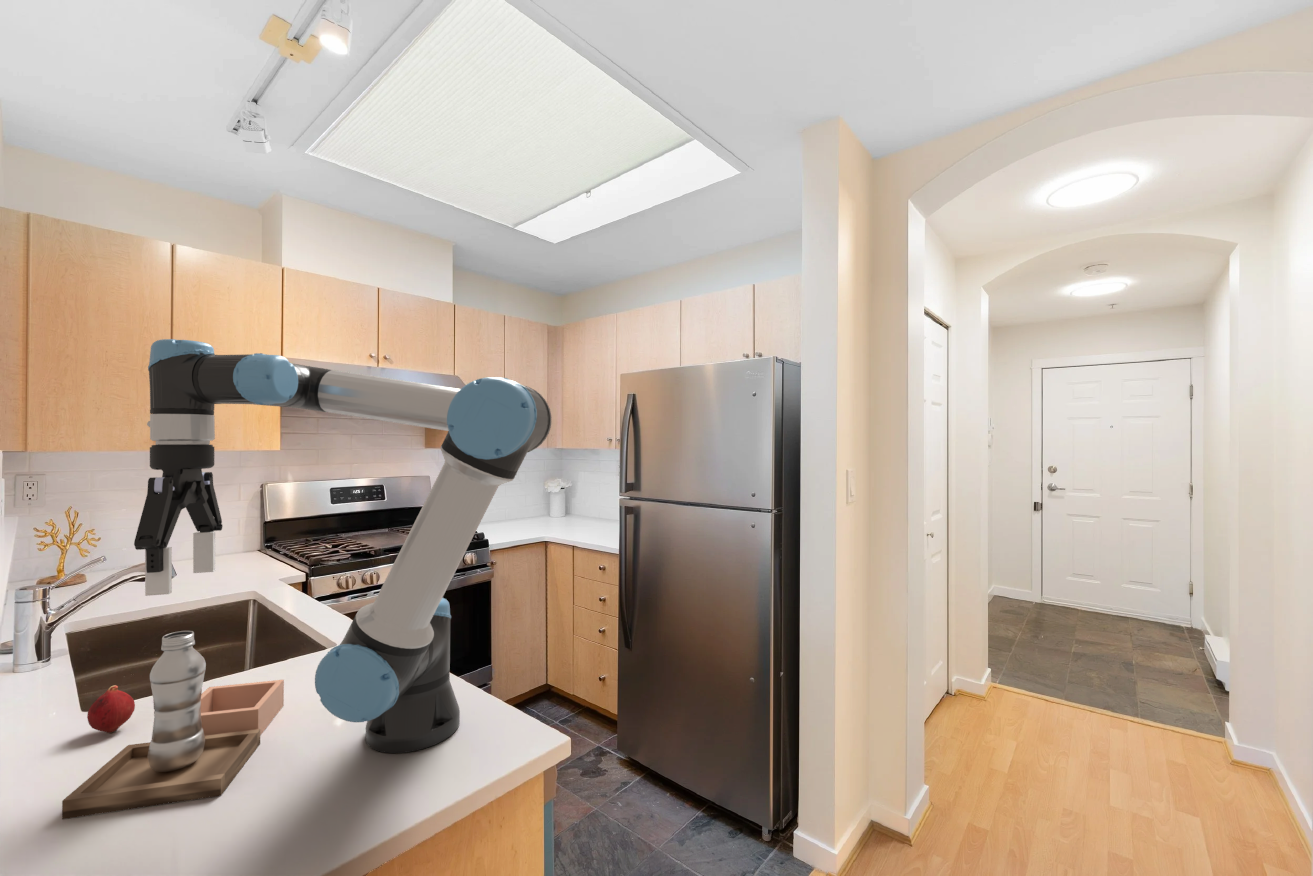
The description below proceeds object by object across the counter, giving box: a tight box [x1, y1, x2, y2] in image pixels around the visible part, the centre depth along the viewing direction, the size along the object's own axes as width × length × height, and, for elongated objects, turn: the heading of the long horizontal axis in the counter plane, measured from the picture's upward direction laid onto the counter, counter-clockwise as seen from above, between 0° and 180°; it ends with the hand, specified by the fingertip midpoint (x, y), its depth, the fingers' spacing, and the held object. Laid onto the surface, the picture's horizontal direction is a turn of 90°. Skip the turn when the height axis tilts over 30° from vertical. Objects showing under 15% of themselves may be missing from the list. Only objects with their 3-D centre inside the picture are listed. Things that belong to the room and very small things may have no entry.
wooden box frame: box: [200, 679, 285, 737], centre depth 99 cm, size 12×12×5 cm
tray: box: [61, 729, 261, 820], centre depth 84 cm, size 18×14×2 cm
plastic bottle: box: [147, 630, 207, 772], centre depth 85 cm, size 6×7×20 cm
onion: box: [86, 684, 136, 734], centre depth 96 cm, size 6×6×8 cm
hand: (183, 582), depth 85 cm, fingers open, 13 cm apart
